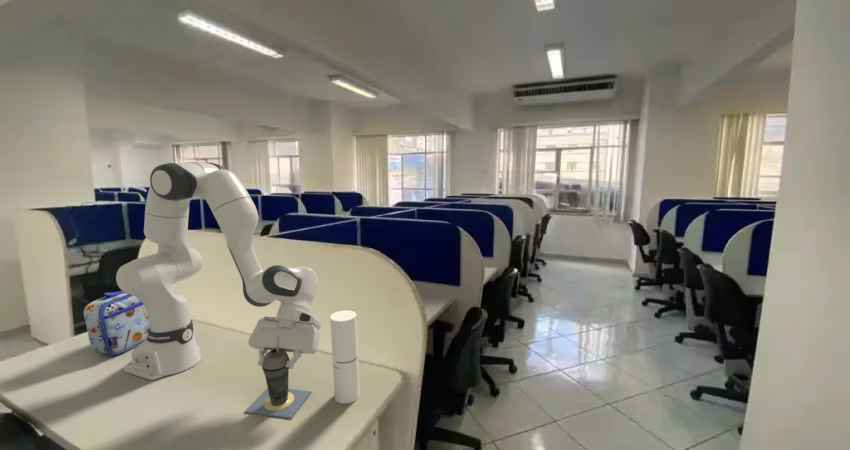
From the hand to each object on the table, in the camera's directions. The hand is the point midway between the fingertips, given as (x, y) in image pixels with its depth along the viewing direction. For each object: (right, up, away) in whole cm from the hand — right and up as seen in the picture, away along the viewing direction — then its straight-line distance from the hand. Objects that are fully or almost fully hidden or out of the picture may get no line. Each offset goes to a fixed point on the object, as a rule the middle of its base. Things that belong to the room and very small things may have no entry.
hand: (275, 366), depth 98 cm
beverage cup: (0, -11, +3) cm, 11 cm away
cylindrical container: (+19, -11, +5) cm, 22 cm away
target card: (0, -11, +3) cm, 11 cm away
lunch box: (-69, -6, +37) cm, 78 cm away
